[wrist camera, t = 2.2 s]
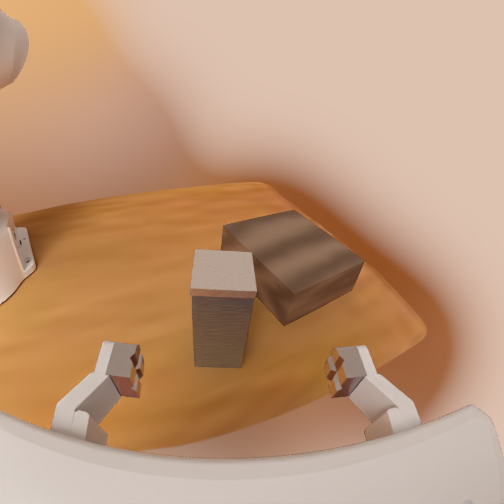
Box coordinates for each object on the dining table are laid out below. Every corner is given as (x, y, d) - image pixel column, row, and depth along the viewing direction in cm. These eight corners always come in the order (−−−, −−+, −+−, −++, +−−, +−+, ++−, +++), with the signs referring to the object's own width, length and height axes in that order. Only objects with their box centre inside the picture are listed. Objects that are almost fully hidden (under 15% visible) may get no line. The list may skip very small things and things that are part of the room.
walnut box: (220, 258, 45) (223, 225, 42) (287, 238, 53) (293, 209, 49) (283, 327, 35) (294, 293, 32) (351, 291, 42) (364, 260, 39)
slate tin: (193, 367, 28) (190, 288, 22) (196, 330, 33) (195, 249, 26) (241, 368, 29) (256, 291, 22) (239, 332, 33) (251, 252, 27)
